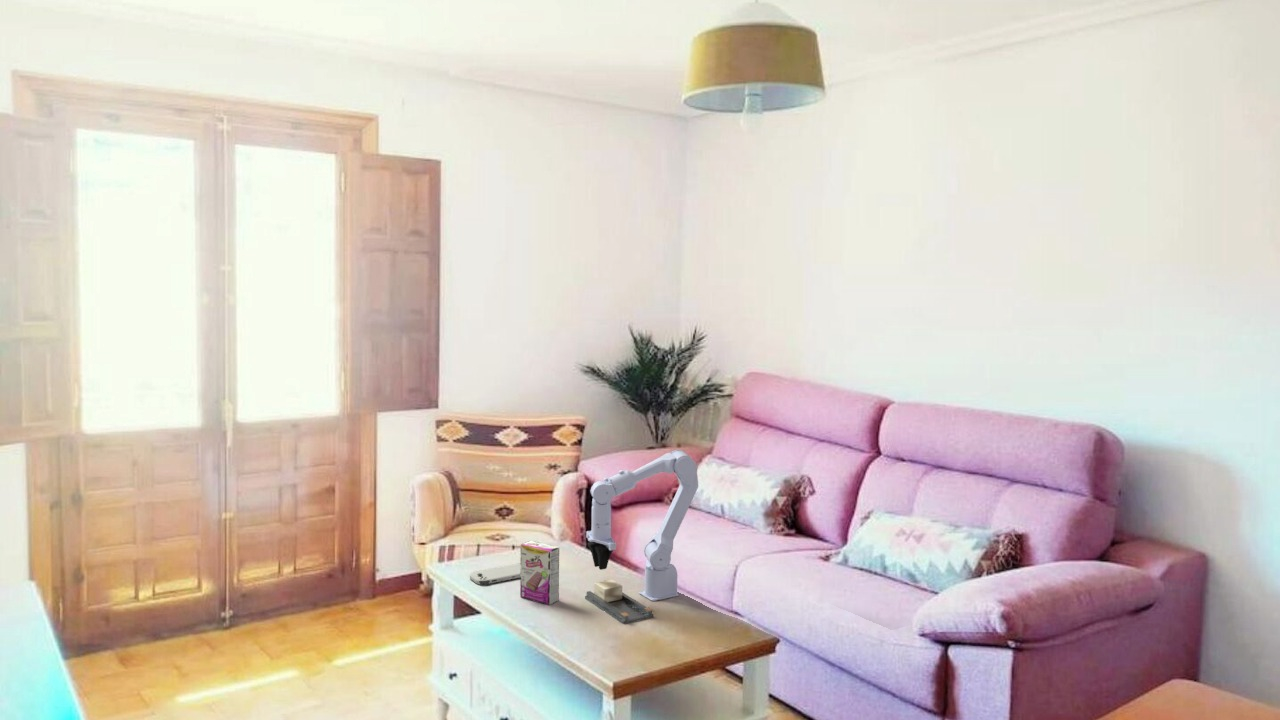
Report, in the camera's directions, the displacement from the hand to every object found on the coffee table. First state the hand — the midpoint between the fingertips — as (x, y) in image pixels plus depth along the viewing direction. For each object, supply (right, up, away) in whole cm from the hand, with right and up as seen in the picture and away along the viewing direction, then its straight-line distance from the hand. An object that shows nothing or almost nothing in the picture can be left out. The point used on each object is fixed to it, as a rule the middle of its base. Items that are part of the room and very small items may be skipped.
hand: (600, 567), depth 266 cm
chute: (+5, -10, -6) cm, 13 cm away
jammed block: (+2, -9, -1) cm, 9 cm away
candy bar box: (-18, -9, -1) cm, 20 cm away
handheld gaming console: (-31, -8, +19) cm, 37 cm away
